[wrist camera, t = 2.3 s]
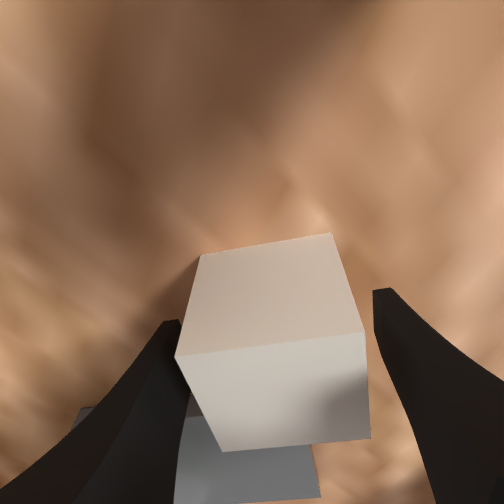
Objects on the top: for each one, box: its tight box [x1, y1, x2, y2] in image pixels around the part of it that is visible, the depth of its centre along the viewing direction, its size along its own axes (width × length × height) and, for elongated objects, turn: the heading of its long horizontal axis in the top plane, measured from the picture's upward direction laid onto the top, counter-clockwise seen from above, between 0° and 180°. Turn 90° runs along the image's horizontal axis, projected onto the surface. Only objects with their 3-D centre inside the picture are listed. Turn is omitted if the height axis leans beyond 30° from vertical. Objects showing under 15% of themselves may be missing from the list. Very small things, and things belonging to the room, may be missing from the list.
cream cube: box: [175, 232, 371, 452], centre depth 12 cm, size 5×5×5 cm
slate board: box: [71, 396, 321, 504], centre depth 21 cm, size 12×10×1 cm
